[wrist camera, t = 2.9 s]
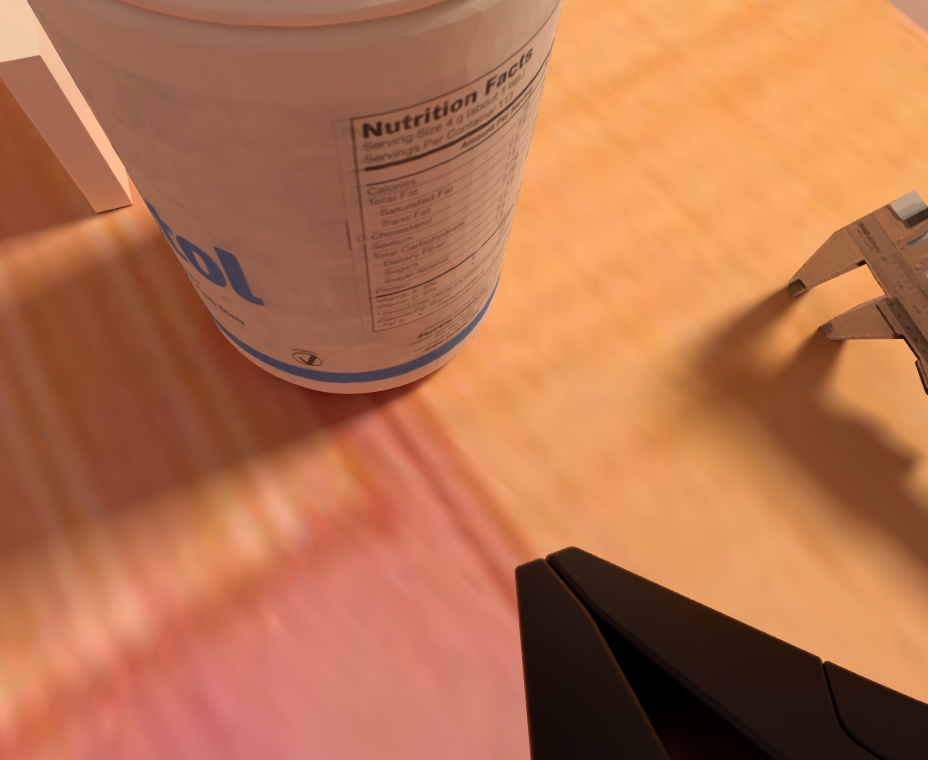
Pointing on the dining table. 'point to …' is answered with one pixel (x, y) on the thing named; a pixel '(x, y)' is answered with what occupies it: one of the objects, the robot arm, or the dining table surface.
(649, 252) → the dining table surface
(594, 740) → the robot arm
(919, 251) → the caliper
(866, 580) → the dining table surface
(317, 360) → the supplement tub
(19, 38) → the cradle
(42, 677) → the dining table surface
